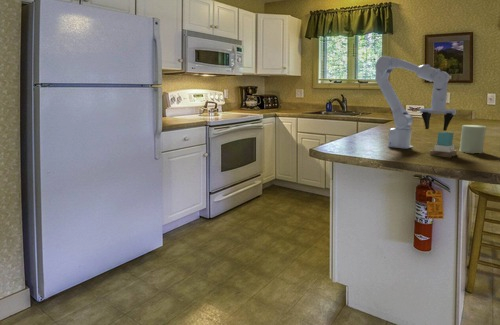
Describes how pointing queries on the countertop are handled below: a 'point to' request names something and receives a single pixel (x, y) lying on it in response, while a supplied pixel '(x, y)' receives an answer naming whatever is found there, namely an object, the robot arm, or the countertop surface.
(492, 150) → the countertop surface
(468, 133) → the can
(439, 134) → the teal block
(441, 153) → the walnut slab
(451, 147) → the white block
